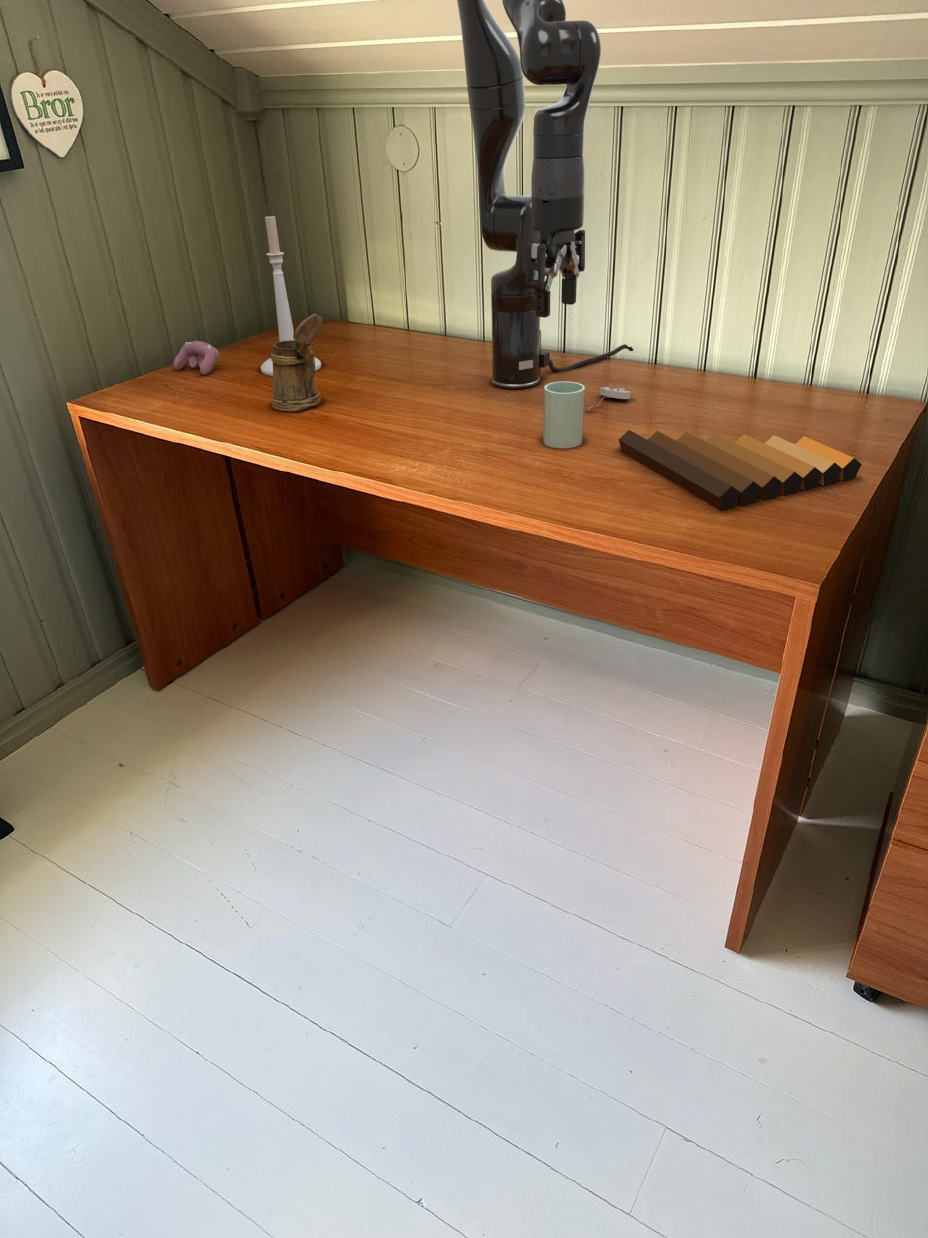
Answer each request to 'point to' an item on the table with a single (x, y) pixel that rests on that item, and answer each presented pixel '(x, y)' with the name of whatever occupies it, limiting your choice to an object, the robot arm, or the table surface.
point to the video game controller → (197, 356)
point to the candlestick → (279, 293)
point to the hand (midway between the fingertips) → (555, 310)
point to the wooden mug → (296, 368)
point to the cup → (563, 414)
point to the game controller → (614, 393)
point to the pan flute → (740, 465)
